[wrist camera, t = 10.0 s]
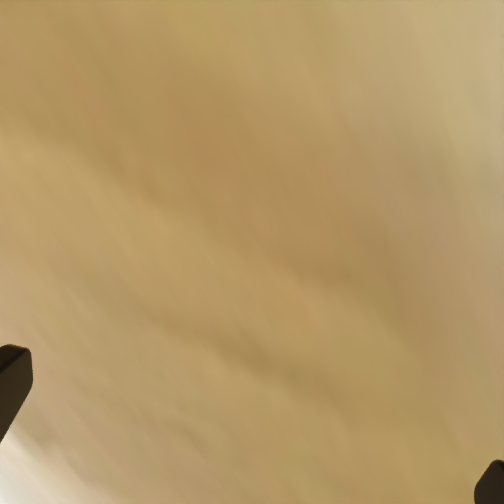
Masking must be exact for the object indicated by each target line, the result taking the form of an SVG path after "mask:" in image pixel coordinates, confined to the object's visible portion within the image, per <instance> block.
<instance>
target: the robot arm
mask: <svg viewBox="0 0 504 504" xmlns="http://www.w3.org/2000/svg"><path fill="white" fill-rule="evenodd" d="M32 384H33V370H32V358H31V352H30V350H29V349H27V348H25V347H21V346H16V345H12V344H8V345H4V346H2V347H0V443H1V441H2V440H3V438H4V436H5V434H6V432H7V431H8V429H9V427H10V425H11V424H12V422H13V420H14V418H15V417H16V415H17V413H18V411H19V409H20V408H21V406H22V404H23V402H24V401H25V399H26V397H27V395H28V394H29V392H30V390H31V387H32ZM474 501H475V504H504V461H503V460H494V461H492V463H491V464H490V465H489V467H488V468H487V470H486V471H485V472H484V474H483V475H482V477H481V478H480V480H479V481H478V482H477V484H476V487H475V490H474Z"/></svg>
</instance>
